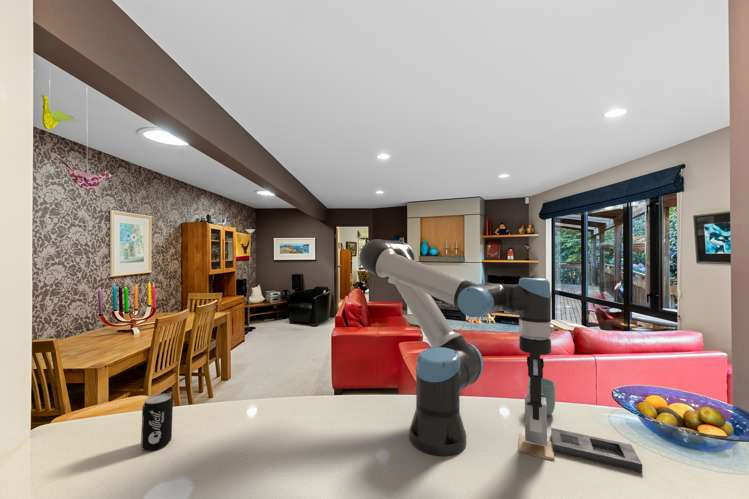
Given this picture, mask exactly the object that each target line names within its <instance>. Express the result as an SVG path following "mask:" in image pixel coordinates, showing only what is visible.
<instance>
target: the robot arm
mask: <svg viewBox="0 0 749 499" xmlns="http://www.w3.org/2000/svg"><path fill="white" fill-rule="evenodd" d="M359 251H360V252H359V262H360V264H361V266H362V268H363V269H364V270H365V271H367V272H368V273H370V274H372V275H374V276H377V277H379V278H383V279H384V278H385V279H386V280H387V282H388V283H389V284H392V285H395V287H396V289H397V291H398V293H399V294H400V295H401V297H402V299H403V301H404V303H405V304H406V305H407V307H408V309H409V311H410V312H411V315H412V316H413V318H414V319H415V321H416V323H417V324H418V326H419V328H420V330H421V331H422V333H423V335H424V337H426V339H427V341H428V343H429V345H430V347H429V348H426V349H424V350H422V351H421V352H420V353H418V354H417V358H416V365H415V372H416V373H415V376H416V377H415V378H416V382H415V384H416V386H415V390H416V391H415V395H416V396H415V398H416V399H415V401H416V402H415V403H416V405H415V406H416V407H415V412H414V415H413V418H412V420H411V423H410V426H409V440H410V443H411V444H412V445H413V447H415V448H416V449H418V450H419V451H421V452H424V453H426V454H430V455H434V456H439V457H440V456H443V457H446V456H455V455H458V454H460V453H461V452H463V451H464V450H465V449H466V448H467V433H466V430H465V426H464V423H463V419H462V417H461V416H462V415H461V412H460V409H461V408H460V403H461V402H460V401H461V400H460V399H461V397H460V395H461V394H460V393H461V392H462V391H463V390H464V389H466V388H467V387H468V386H470V385H472V384H474V383H476V382H477V381H478V379H479V378H480V377H481V375H482V373H483V371H484V359H483V356H482V353H481V351H480V350H479V349H478V348H477V347H476V346H475V345H473V344H471V343H469V342H467V341H466V339H465V337H464V336H463V335H462V334H461V333H458V332H456V331H454V329H453V328H452V326H451V325H450V323H449V321H448V320H447V319H446V317H445V316H444V314H443V313H442V311H441V309H440V308H439V306H438V304H437V303H436V301H435V299H434V298H436V299H438V300H440V301H443V302H445V303H447V304H450V305H452V306H455V307H457V308H458V309H459V310H460V311H461V312H462V314H464V315H465V316H467V317H470V318H481V317H485V316H487V315H489V314H492V313H493V314H494V313H495V312H499V311H501V312H512V313H518V315H519V316H518V328H519V329H518V332H519V334H520V336H519V337H518V338H519V344H518V345H519V350H520V351H522V352H524V353H526V354H527V353H528V354H529V356H528V355H527V356H526V365H527V375H528V378H530V402H527V405H530V431H534V432H539V433H542V404H541V396H542V397H543V393H541V379H542V378H544V371H543V370H544V368H545V361H544V358H543V357H541V355H543V356H545V355H546V356H547V355H550V354H551V353H552V339H551V338H550V337H551V335H552V331H551V330H553V329H555V328H554V325H552V324H551V322H552V317H551V316H552V314H551V312H552V307H551V306H552V302H551V301H552V295H551V285H550V281H549V280H548V279H546V278H543V277H542V278H541V277H520V278H519V279H518V280H519V281H518V283H517V284H505V283H493V282H492V283H491V282H481V283H480V282H479V283H475V282H472V281H469V280H468V279H467V280H466V279H464V278H462V277H459V276H456V275H454V274H451V273H449V272H445V271H443V270H441V269H438V268H435V267H432V266H430V265H427V264H423V263H421V262H418V261H416V260H415V258H416V255H415V251H414V250H413V248H412V247H411V246H410V245H409V244H408V243H405V242H403V241H402V240H401V241H400V240H388V239H380V238H379V239H378V238H377V239H371V240H369V241H367V242H366V243H365V244H364V245H362V247H361V249H360V250H359ZM433 297H434V298H433Z"/></svg>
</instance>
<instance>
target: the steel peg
mask: <svg viewBox="0 0 749 499" xmlns="http://www.w3.org/2000/svg"><path fill="white" fill-rule="evenodd" d="M527 402H530V395H528V394H524V436H525V441H528V442H532V443H537V444H541V445H545V446H547V441H548V415H547V403H546V398H543V397H541V404H542V433H539V432H534V431H530V405H527Z"/></svg>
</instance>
